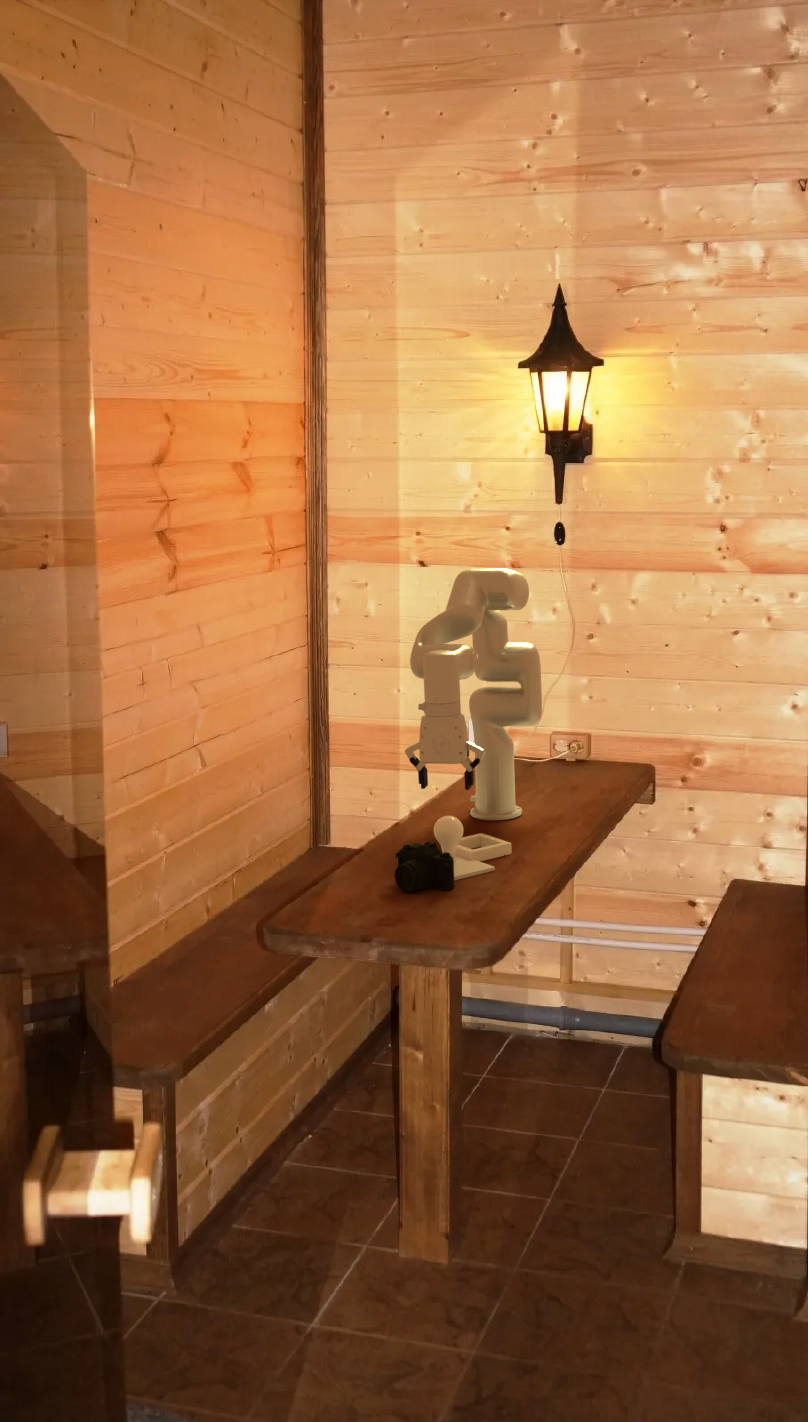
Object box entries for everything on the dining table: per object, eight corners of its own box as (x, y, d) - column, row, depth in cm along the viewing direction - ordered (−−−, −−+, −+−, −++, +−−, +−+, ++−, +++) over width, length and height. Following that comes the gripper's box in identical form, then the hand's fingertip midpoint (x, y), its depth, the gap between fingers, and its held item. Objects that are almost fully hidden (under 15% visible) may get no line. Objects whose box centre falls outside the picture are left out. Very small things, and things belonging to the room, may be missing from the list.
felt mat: (403, 869, 317) (403, 865, 317) (456, 856, 324) (455, 853, 324) (441, 883, 305) (441, 879, 305) (494, 870, 313) (494, 866, 313)
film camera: (376, 886, 306) (374, 845, 304) (409, 875, 312) (407, 834, 311) (429, 900, 295) (427, 857, 293) (461, 888, 302) (460, 846, 300)
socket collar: (442, 852, 328) (441, 842, 327) (481, 843, 334) (481, 833, 333) (471, 863, 319) (471, 852, 318) (511, 853, 325) (511, 842, 324)
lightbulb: (465, 869, 312) (464, 819, 310) (435, 870, 312) (434, 820, 310) (463, 860, 318) (462, 811, 316) (434, 861, 318) (432, 812, 316)
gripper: (398, 712, 307) (402, 791, 311) (479, 713, 303) (482, 793, 306) (408, 705, 314) (412, 782, 318) (486, 705, 310) (489, 784, 313)
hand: (446, 787), depth 312 cm, fingers open, 9 cm apart
